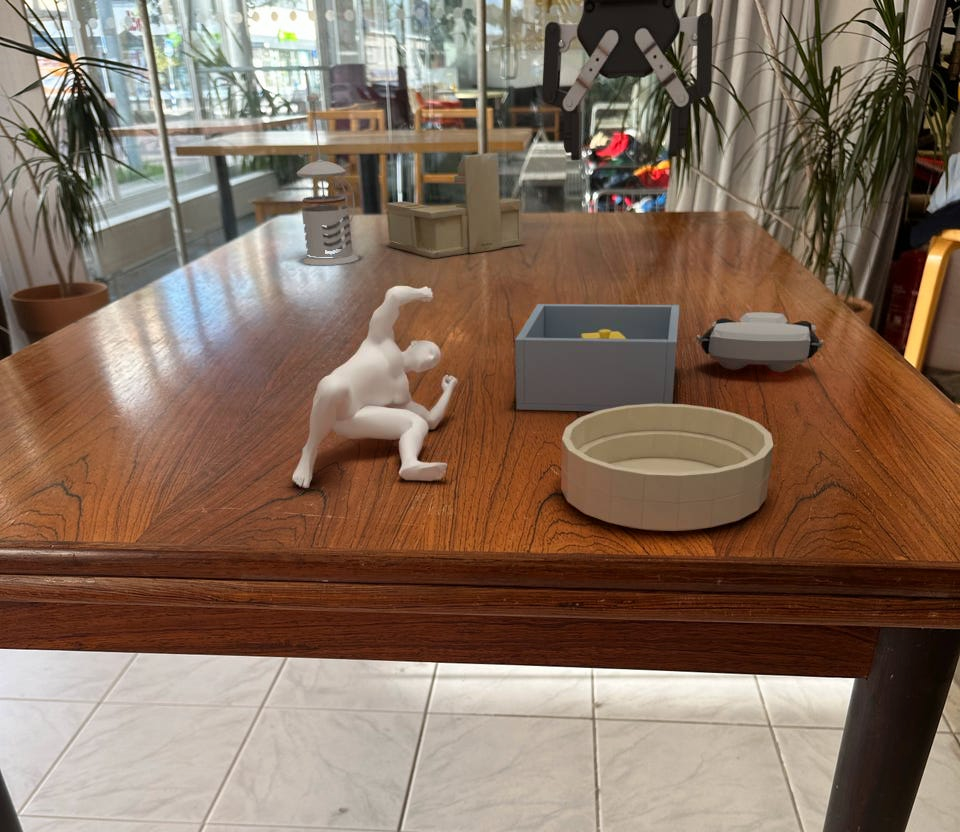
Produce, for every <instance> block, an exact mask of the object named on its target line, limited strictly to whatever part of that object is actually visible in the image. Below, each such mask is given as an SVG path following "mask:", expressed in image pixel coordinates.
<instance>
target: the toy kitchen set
mask: <svg viewBox="0 0 960 832" xmlns="http://www.w3.org/2000/svg"><path fill="white" fill-rule="evenodd" d="M499 169H500V168H499V153H498V152H487V153H486V152H485V153H477V154H467V155H466V154H465V155H462V157H461V160H460V162H459V165H458V167H457V175H454V178H453V181H454V183H464V185H465V201H466V203H463V204H457V205H455V206H454V205H453V206H452V205H450V206H449V205H446V206H445V205H444V206H430V205H425V204H422V203H421V204H420V203H415V202H410V201H395V202H387V203H386V217H387V218H386V219H387V229H388V240H390V241H394V242H398V243H402V244H406V245H410V246H413V247H410V246H406V245H402V244H398V243H394V242H390V241H389V247H391V248H393V249H397V250H401V251H405V252H409V253H412V254H415V255H418V256H422V257H426V258H431V259H439V258H445V257H450V256H457V255H465V254H476V253H482V252H489V251H496V250H501V249H502V248H508V247H514V246H521V245H522V244H523V226H522V225H523V223H522V218H523V217H522V199H517V198H503V199H500V175H499V174H500V173H499V172H500V171H499ZM414 247H415V248H414ZM418 247H423V248H418ZM424 248H426V249H424ZM427 249H429V250H427ZM431 250H432V251H431Z"/></svg>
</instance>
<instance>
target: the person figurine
mask: <svg viewBox="0 0 960 832" xmlns="http://www.w3.org/2000/svg"><path fill="white" fill-rule="evenodd" d="M433 295H434V292H433V291H432V288H430V287H428V286H427V285H426V286H424V287H420V288H415V287H411V286H408V285H395V286H393V287H390V288H388V290H386V293H385V296H384V300H383V302H382V304H381V305H379V307H377V308H376V309H375V310H374V311H373V313H372V316H371V318H370V321H369V323H368V332H367V336H366V338H365V339H364V340H363V341H362V343H361V344H360V346H359V348H358V349H357V351H356V352H355V353H354V354H353V355H352V356H351V357H350V358H349V359H348V360H347V361H346V362H344V363H343V364H341V365H340V366H338V367H337V368H335V369H333V371H331V373H330V374H328V375H326V376H324V377H323V378H322V379H320V380H319V382H318V384H317V386H316V391H315V393H314V397H313V399H312V408H311V412H310V414H309V435H308V438H307V441H306V443H305V445H304V446H303V448H302V452H301V453H302V455H301V457H300V460H299V462H298V464H297V466H296V468H295V470H294V471H293V473H292V481H293V482H294V483H295V485H298V486H299V488H301V487H302V488H304V489H308V488H310V484H311V481H312V480H313V473H314V466H315V463H316V459H317V456H318V454H319V451H318V449H319V447H320V444H321V443H322V442H323V440H324V439H325V437H326V436H327V434H328V433H329V431H331V429H332V430H333V432H334V433H335V434H336V436H339V437H341V438H345V439H349V440H361V439H362V440H363V439H377V440H387V441H388V440H389V441H395V440H399V441H398V453H399V456H400V461H401V466H400V469H399V471H398V474H399V476H400V477H401V478H402V479H404V480H405V481H428V482H432V481H438V480H442V478H443V477H444V475H446V474H447V473H446V472H447V468H448V463H445V462H435V461H434V462H422V461H420V460H419V459H418V457H419V455H420V453H421V451H422V449H423V445H424V440H425V438H426V437H427V436H428V434H429V430H430V431H431V430H435V429H436V428H437V426H438V425H439V423H440V422H441V421H442V420H443V418H444V417H445V414H446V411H447V408H448V405H449V403H450V400H451V398H452V395H453V393H454V390H455V388H456V386H457V384H458V382H459V381H458V379H457V377H455V376H453V375H448V374H446V375H444V376H443V377H442V380H441V384H440V385H441V389H442V394H441V396H440V398H439V400H437V403H436V404H435V405H434V406H432V408H431V409H430V410H428V409H427V408H426V407H425V406H424V405H422V404H420V403H417V402H415V401H413V397H412V394H411V392H410V382H409V379H408V376H407V374H406V373H409V372H414V373H416V374H419V373H421V372H426V371H428V370H431V369H433V368H435V367H436V366H437V365H438V364H440V362H441V357H442V356H441V355H442V352H441V350H440V347H439V346H438V345H437V344H436V343H435V342H433V341H430V340H424V339H422V340H416V339H415V340H412V341H410V345H409V346H408V347H407V348H406V349H405V350H404V351H402V350H401V349H400V347H399V346H398V344H397V343H396V341H395V332H394V329H393V327H394V325H395V324H396V322H397V320H398V318H399V316H400V315H401V314H400V307H402V306H404V305H407V304H409V303H412V302H416V301H421V302H424V303H426V302H427V303H428V302H429V303H430V302H431V301H432V300H433V299H434V296H433Z"/></svg>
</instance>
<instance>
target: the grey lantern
mask: <svg viewBox="0 0 960 832" xmlns="http://www.w3.org/2000/svg"><path fill="white" fill-rule="evenodd" d="M319 101H320V98H319V95H318V94H317V93H316V92H309V94H308V95H307V96H306V102H312V108H313V119H314V126H315V136H316V143H317V144H316V145H317V152H318V159H317V160H316V161H313V162H309V163H307V164H306V165H304V166H303V167H302V168H300V169H299V170H297V172H296V176H297V177H299V178H320V181H321V189H322V195H315V196H314V195H311V196H306V197H304V198H303V199H302V202H303V203H304V204H307V205H316V206H308V207H304V208H302V209H301V217H302V223H303V225H304V228H303V231H304V234H305V236H304V240H305V242H306V244H305V248H306V256H305V257H304V259H302V261H301V262H302V263H303V262H304V263H303V264H305V265H311V266H334V265H344V264H350V263H353V262H354V263H355V262H357V261H358V260H359V259H360V257H359V256H358V255H357V254H356V253H354V252H353V244H352V243H353V242H352V233H351V232H352V231H351V222H352V221H353V219H354V215H355V207H356V202H355V195H354V191H353V188H352V185H351V184H350V182H349V181H348V179H347V180H346V179H345V178H344V177H343V178H341V179H338V178H337V176H338V177H339V176H343V175H345V174H346V171H347V170H346V169H345V168H343V167H342V166H340V164H337V163H335V162H331V161H326V160H323V159H321V151H320V143H319V142H320V141H319V135H318V134H319V133H318V126H317V125H318V124H317V117H316V108H315V102H319ZM330 177H333V179H332V181H333V187H334V188H336V189H341V188H342V190H343V193H344V195H339V194H333V195H332V194H331V195H326V194H325V189H324V179H323V178H330ZM336 181H337V182H339V184H340V186H338V185H336ZM343 182H346V184H347V185H348V187H349V189H350V192H351V196H352V213H351V217H350V212H349V206H348V205H349V204H348V196H347V191H346V189H345V186H344V185H343ZM344 201H345V205H341V209H339V205H335V204H338V203H343V202H344ZM331 204H332V205H331ZM342 229H343V230H342ZM343 237H344V239H342V238H343ZM343 245H345V247H343ZM336 249H342V250H341V251H340V252H338V253H335V254H332V255H330V254H325V250H327V251H333V250H336ZM351 253H352V254H351ZM307 254H308V255H310V256H316V257H333V258H314V257H309V256H307ZM340 256H341V257H340Z"/></svg>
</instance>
